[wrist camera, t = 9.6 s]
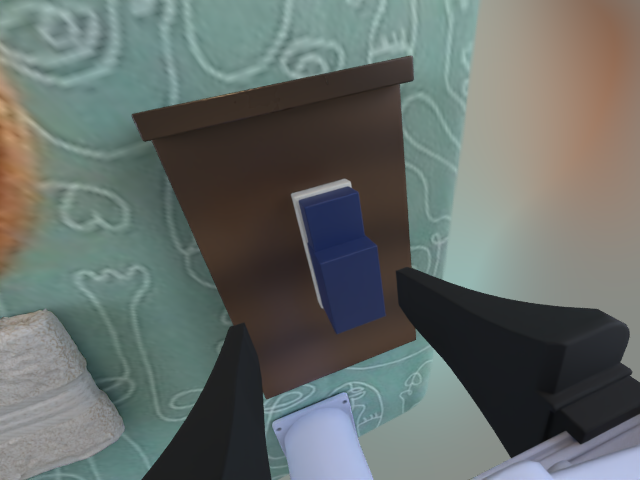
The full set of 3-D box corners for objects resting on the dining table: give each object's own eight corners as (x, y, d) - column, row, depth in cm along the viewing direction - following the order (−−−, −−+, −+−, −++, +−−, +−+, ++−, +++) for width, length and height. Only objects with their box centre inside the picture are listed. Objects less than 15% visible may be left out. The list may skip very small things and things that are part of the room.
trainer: (362, 285, 22) (388, 318, 18) (317, 301, 21) (335, 338, 18) (345, 178, 18) (373, 193, 14) (290, 193, 17) (305, 213, 14)
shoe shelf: (401, 322, 28) (426, 352, 25) (263, 375, 26) (268, 416, 22) (378, 66, 18) (413, 54, 15) (152, 114, 16) (129, 114, 12)
